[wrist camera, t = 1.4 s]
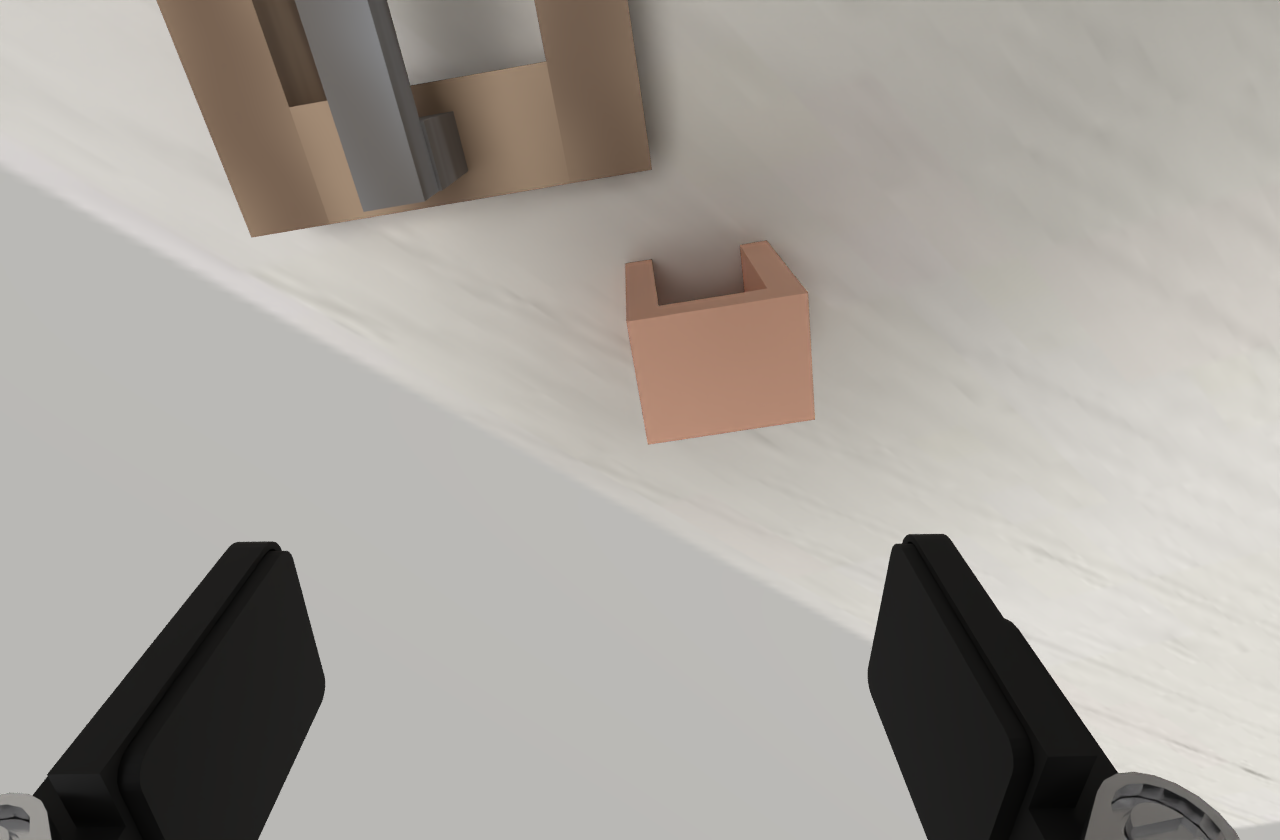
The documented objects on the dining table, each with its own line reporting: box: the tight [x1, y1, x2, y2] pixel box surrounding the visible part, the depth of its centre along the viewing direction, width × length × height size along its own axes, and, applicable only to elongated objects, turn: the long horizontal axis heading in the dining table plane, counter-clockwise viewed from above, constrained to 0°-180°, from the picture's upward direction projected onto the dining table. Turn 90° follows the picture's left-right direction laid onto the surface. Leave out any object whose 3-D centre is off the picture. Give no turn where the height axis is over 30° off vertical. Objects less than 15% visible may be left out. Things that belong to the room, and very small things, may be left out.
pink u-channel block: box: [625, 240, 815, 444], centre depth 30 cm, size 6×5×8 cm
